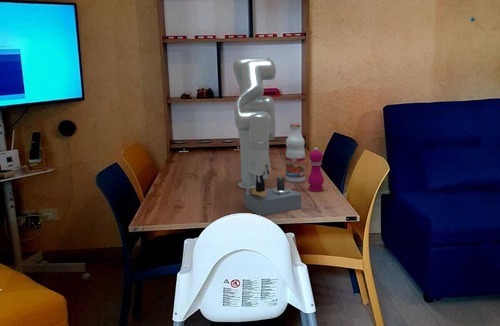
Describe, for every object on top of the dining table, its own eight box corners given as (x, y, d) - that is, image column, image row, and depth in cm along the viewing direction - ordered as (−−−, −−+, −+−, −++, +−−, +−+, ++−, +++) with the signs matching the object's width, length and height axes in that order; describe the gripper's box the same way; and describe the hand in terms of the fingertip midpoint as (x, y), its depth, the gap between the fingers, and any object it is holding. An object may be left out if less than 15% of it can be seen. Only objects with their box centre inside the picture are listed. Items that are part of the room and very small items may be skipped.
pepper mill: (322, 187, 226) (322, 145, 222) (325, 191, 219) (325, 148, 215) (306, 187, 226) (306, 146, 222) (309, 192, 219) (309, 149, 215)
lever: (249, 193, 199) (249, 189, 199) (254, 192, 200) (253, 188, 200) (262, 196, 189) (261, 192, 189) (266, 195, 190) (266, 191, 190)
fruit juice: (307, 178, 242) (307, 123, 236) (302, 183, 234) (302, 126, 227) (288, 177, 246) (288, 122, 239) (283, 182, 237) (283, 125, 231)
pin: (270, 204, 203) (270, 177, 200) (283, 202, 206) (283, 175, 203) (278, 209, 198) (277, 180, 195) (291, 206, 200) (291, 178, 198)
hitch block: (244, 206, 202) (243, 187, 200) (283, 199, 210) (283, 181, 208) (260, 216, 190) (259, 196, 188) (301, 208, 198) (301, 188, 196)
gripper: (242, 144, 193) (243, 188, 197) (259, 149, 180) (261, 197, 184) (258, 142, 196) (259, 186, 200) (277, 147, 183) (278, 194, 187)
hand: (260, 191), depth 192 cm, fingers closed
